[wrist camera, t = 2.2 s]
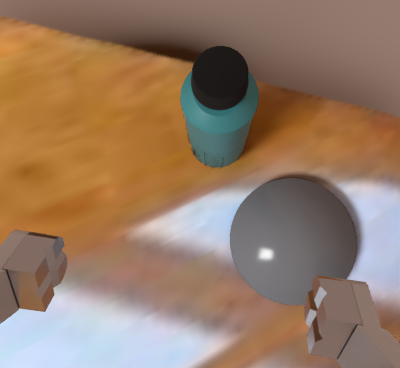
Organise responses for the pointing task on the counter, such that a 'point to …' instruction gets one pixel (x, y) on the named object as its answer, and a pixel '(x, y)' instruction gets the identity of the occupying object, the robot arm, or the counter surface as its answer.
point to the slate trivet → (291, 239)
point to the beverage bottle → (219, 105)
